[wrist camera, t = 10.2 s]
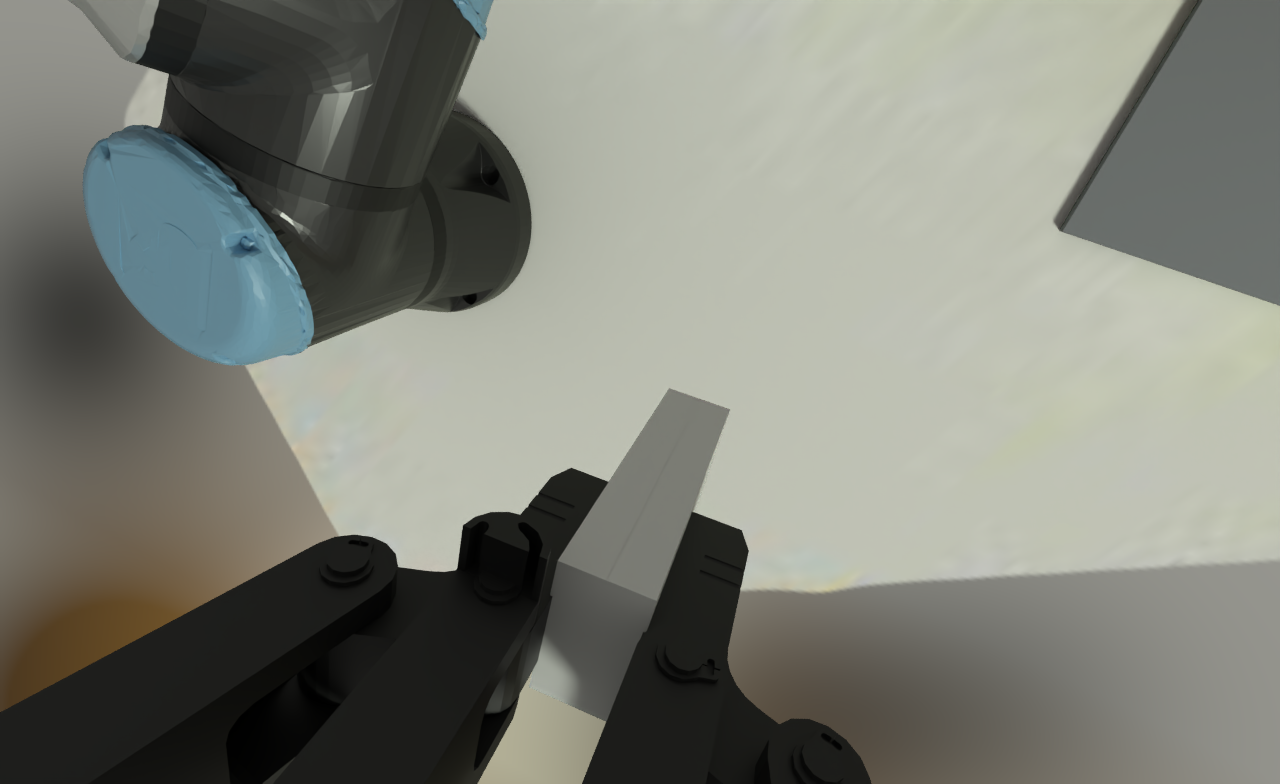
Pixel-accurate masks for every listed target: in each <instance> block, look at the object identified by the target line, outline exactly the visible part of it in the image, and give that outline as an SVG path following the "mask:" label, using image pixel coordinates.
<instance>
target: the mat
mask: <svg viewBox="0 0 1280 784" xmlns="http://www.w3.org/2000/svg"><path fill="white" fill-rule="evenodd" d="M1059 231H1062V232H1064V233H1067V234H1070V235H1073V236H1076V237H1079V238H1082V239H1085V240H1088V241H1091V242H1094V243H1097V244H1100V245H1103V246H1106V247H1109V248H1112V249H1115V250H1118V251H1120V252H1123V253H1126V254H1129V255H1132V256H1135V257H1138V258H1141V259H1144V260H1147V261H1150V262H1153V263H1156V264H1159V265H1162V266H1165V267H1168V268H1171V269H1173V270H1176V271H1179V272H1182V273H1185V274H1188V275H1191V276H1194V277H1197V278H1200V279H1203V280H1206V281H1209V282H1212V283H1215V284H1218V285H1221V286H1224V287H1226V288H1229V289H1232V290H1235V291H1238V292H1241V293H1244V294H1247V295H1250V296H1253V297H1256V298H1259V299H1262V300H1265V301H1268V302H1271V303H1274V304H1277V305H1280V0H1198V2H1197V4H1196V5H1195V7H1194V9H1193V10H1192V12H1191V14H1190V15H1189V17H1188V19H1187V20H1186V22H1185V24H1184V25H1183V27H1182V29H1181V30H1180V32H1179V33H1178V35H1177V37H1176V38H1175V40H1174V42H1173V43H1172V45H1171V47H1170V48H1169V50H1168V52H1167V53H1166V55H1165V57H1164V58H1163V60H1162V62H1161V63H1160V65H1159V67H1158V68H1157V70H1156V72H1155V73H1154V75H1153V76H1152V78H1151V80H1150V81H1149V83H1148V85H1147V86H1146V88H1145V90H1144V91H1143V93H1142V95H1141V96H1140V98H1139V100H1138V101H1137V103H1136V105H1135V106H1134V108H1133V110H1132V111H1131V113H1130V115H1129V116H1128V118H1127V119H1126V121H1125V123H1124V124H1123V126H1122V128H1121V129H1120V131H1119V133H1118V134H1117V136H1116V138H1115V139H1114V141H1113V143H1112V144H1111V146H1110V148H1109V149H1108V151H1107V153H1106V154H1105V156H1104V157H1103V159H1102V161H1101V162H1100V164H1099V166H1098V167H1097V169H1096V171H1095V172H1094V174H1093V176H1092V177H1091V179H1090V181H1089V182H1088V184H1087V186H1086V187H1085V189H1084V191H1083V192H1082V194H1081V196H1080V197H1079V199H1078V200H1077V202H1076V204H1075V205H1074V207H1073V209H1072V210H1071V212H1070V214H1069V215H1068V217H1067V219H1066V220H1065V222H1064V224H1063V225H1062V227H1061V229H1060V230H1059Z"/></svg>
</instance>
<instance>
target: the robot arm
mask: <svg viewBox="0 0 1280 784" xmlns="http://www.w3.org/2000/svg"><path fill="white" fill-rule="evenodd" d="M69 1H70V2H71V3H73V4H74V5H75V6H76V7H78V8H79V9H80V10H81V11H82V12H83V13H84V14H85V15H86V17H87V18H88V19H89V20H90V21H91V23H92V24H93V25H94V26H95V28H96V29H97V30H98V31H99V32H100V33H101V35H102V36H103V37H104V38H105V39H106V41H107V42H108V43H109V44H110V46H111V47H112V48H113V49H114V50H115V52H116V53H117V54H118V55H119V56H120V57H121V58H123V59H125V60H127V61H129V62H132V63H136V64H140V65H143V66H146V67H149V68H152V69H155V70H159V71H162V72H165V73H168V74H169V77H168V83H167V89H166V95H165V101H164V108H163V114H162V119H161V123H160V126H159V127H158V128H153V127H151V126H148V125H132V126H128V127H126V128H124V129H123V130H122V131H118V132H115V133H112V134H111V135H110V136H109V138H106V139H102V140H100V141H98V142H97V143H96V144H95V146H94V147H93V148H92V149H91V151H90V153H89V155H88V157H87V161H86V165H85V168H84V173H83V196H84V204H85V209H86V215H87V218H88V222H89V225H90V228H91V231H92V234H93V237H94V240H95V242H96V244H97V247H98V249H99V251H100V253H101V255H102V257H103V260H104V261H105V263H106V265H107V267H108V269H109V270H110V271H111V273H112V274H113V275H114V277H115V279H116V281H117V283H118V285H119V286H120V288H121V289H122V291H123V292H124V294H125V295H126V296H127V297H128V299H129V300H130V301H131V303H132V304H133V305H134V306H135V308H136V309H137V310H138V311H139V312H140V313H141V314H142V315H143V317H145V319H147V321H148V322H149V323H150V324H151V325H153V326H154V327H155V328H156V329H157V330H158V331H159V332H161V333H162V334H163V335H164V336H166V337H167V338H168V339H169V340H171V341H172V342H174V343H175V344H176V345H178V346H180V347H181V348H183V349H184V350H186V351H188V352H190V353H192V354H194V355H196V356H198V357H201V358H203V359H205V360H208V361H211V362H215V363H219V364H226V365H248V364H254V363H258V362H261V361H264V360H268V359H271V358H274V357H278V356H282V355H295V354H298V353H301V352H302V351H304V350H305V349H306V348H308V347H309V346H312V345H314V344H317V343H319V342H322V341H324V340H327V339H329V338H332V337H334V336H337V335H339V334H342V333H344V332H347V331H349V330H352V329H354V328H357V327H359V326H362V325H365V324H367V323H370V322H372V321H375V320H378V319H380V318H383V317H385V316H388V315H391V314H393V313H396V312H398V311H401V310H403V309H406V308H407V309H417V310H427V311H437V312H456V311H462V310H467V309H470V308H473V307H475V306H478V305H480V304H482V303H485V302H487V301H489V300H491V299H493V298H495V297H496V296H498V295H499V294H501V293H502V292H503V291H504V290H506V289H507V288H508V287H509V286H510V284H511V283H512V282H513V281H514V279H515V278H516V277H517V275H518V274H519V272H520V270H521V268H522V266H523V264H524V261H525V259H526V256H527V253H528V249H529V244H530V238H531V209H530V202H529V198H528V193H527V190H526V186H525V183H524V181H523V178H522V176H521V173H520V171H519V169H518V167H517V165H516V163H515V161H514V160H513V158H512V156H511V155H510V153H509V152H508V151H507V149H506V148H505V147H504V145H503V144H502V143H501V142H500V141H499V140H498V138H497V137H496V136H495V135H494V134H493V133H491V132H490V131H489V130H488V129H487V128H486V127H484V126H483V125H481V124H480V123H479V122H477V121H475V120H474V119H472V118H470V117H468V116H466V115H464V114H461V113H458V112H455V111H452V109H453V107H454V104H455V102H456V99H457V97H458V94H459V92H460V89H461V87H462V84H463V82H464V79H465V77H466V74H467V72H468V69H469V67H470V64H471V61H472V59H473V56H474V54H475V51H476V49H477V46H478V44H479V41H480V39H482V40H484V39H485V36H486V34H487V28H486V25H485V23H486V20H487V17H488V14H489V11H490V8H491V5H492V2H493V0H69ZM729 411H730V409H727V408H724V407H721V406H719V405H716V404H713V403H710V402H707V401H704V400H701V399H698V398H695V397H693V396H690V395H687V394H684V393H681V392H678V391H675V390H672V389H670V388H669V390H668V391H667V393H666V394H665V396H664V397H663V399H662V400H661V402H660V403H659V405H658V407H657V408H656V410H655V411H654V413H653V414H652V416H651V417H650V419H649V420H648V422H647V424H646V425H645V427H644V428H643V430H642V431H641V433H640V434H639V436H638V437H637V439H636V441H635V442H634V444H633V445H632V447H631V448H630V450H629V451H628V453H627V454H626V456H625V458H624V459H623V461H622V462H621V464H620V465H619V467H618V468H617V470H616V471H615V473H614V475H613V476H612V478H611V479H610V481H609V482H607V481H605V480H602V479H599V478H597V477H594V476H592V475H589V474H586V473H584V472H581V471H578V470H576V469H573V468H570V469H568V470H566V471H564V472H561V473H559V474H557V475H555V476H553V477H551V478H550V479H549V481H548V482H547V483H546V484H545V485H544V487H543V488H542V489H541V490H540V492H539V494H538V495H536V496H535V498H534V499H533V500H532V501H531V503H530V504H529V506H528V508H526V509H525V510H524V511H523V512H522V514H521V515H519V514H515V513H510V512H491V513H487V514H484V515H480V516H477V517H474V518H473V519H472V520H470V521H469V522H467V523H466V524H464V525H463V530H462V538H461V545H460V553H459V560H458V568H457V570H456V571H448V572H433V571H423V570H416V569H408V568H400V567H398V565H397V559H396V554H395V553H394V552H393V550H392V549H391V548H390V547H389V546H388V545H387V544H386V543H384V542H382V541H379V540H377V539H375V538H373V537H368V536H360V535H348V536H339V537H334V538H331V539H328V540H326V541H323V542H320V543H318V544H316V545H314V546H312V547H310V548H309V549H306V550H304V551H303V552H301V553H299V554H297V555H295V556H293V557H292V558H290V559H288V560H286V561H284V562H282V563H280V564H278V565H276V566H274V567H273V568H271V569H269V570H267V571H265V572H263V573H261V574H259V575H258V576H256V577H254V578H252V579H250V580H248V581H246V582H244V583H243V584H241V585H239V586H237V587H235V588H233V589H231V590H229V591H227V592H226V593H224V594H222V595H220V596H218V597H216V598H214V599H212V600H211V601H209V602H207V603H205V604H203V605H201V606H199V607H198V608H196V609H194V610H192V611H190V612H188V613H186V614H184V615H183V616H181V617H179V618H177V619H175V620H173V621H171V622H169V623H167V624H165V625H164V626H162V627H160V628H158V629H156V630H154V631H152V632H150V633H149V634H147V635H145V636H143V637H141V638H139V639H137V640H136V641H134V642H132V643H130V644H128V645H126V646H124V647H122V648H120V649H119V650H117V651H115V652H113V653H111V654H109V655H107V656H105V657H104V658H102V659H100V660H98V661H96V662H95V663H92V664H91V665H88V666H87V667H85V668H83V669H81V670H79V671H77V672H75V673H74V674H72V675H70V676H68V677H66V678H64V679H62V680H60V681H58V682H57V683H55V684H53V685H51V686H49V687H47V688H45V689H43V690H42V691H40V692H38V693H36V694H34V695H32V696H30V697H28V698H27V699H25V700H23V701H21V702H19V703H17V704H15V705H13V706H11V707H10V708H8V709H6V710H4V711H2V712H0V784H477V783H478V781H479V780H480V778H481V776H482V774H483V772H484V770H485V769H486V767H487V765H488V763H489V761H490V759H491V757H492V756H493V754H494V752H495V750H496V748H497V747H498V745H499V743H500V741H501V739H502V738H503V736H504V734H505V732H506V730H507V728H508V727H509V725H510V723H511V721H512V719H513V717H514V714H515V710H516V707H517V704H518V698H519V694H520V692H521V690H522V688H523V687H524V685H525V683H526V681H527V680H528V678H529V676H530V674H531V672H532V671H533V672H532V676H531V681H530V685H529V687H530V688H532V689H534V690H536V691H539V692H541V693H543V694H545V695H548V696H550V697H552V698H554V699H557V700H559V701H561V702H564V703H566V704H568V705H570V706H573V707H575V708H577V709H579V710H582V711H584V712H586V713H588V714H590V715H593V716H595V717H597V718H600V719H602V720H604V721H606V724H605V727H604V729H603V732H602V734H601V737H600V739H599V742H598V745H597V747H596V749H595V752H594V755H593V757H592V760H591V762H590V765H589V767H588V770H587V772H586V775H585V777H584V780H583V783H582V784H871V780H870V778H869V775H868V773H867V771H866V768H865V766H864V764H863V762H862V760H861V758H860V756H859V755H858V754H857V753H856V752H855V750H854V749H853V748H852V747H851V745H850V744H849V743H848V742H847V740H846V739H844V738H843V737H841V736H840V735H838V733H836V732H835V731H834V730H832V729H831V728H829V727H828V726H826V725H823V724H820V723H818V722H815V721H813V720H810V719H790V720H788V721H786V722H784V723H782V724H778V723H777V722H775V721H774V720H773V719H771V718H770V717H769V716H767V715H766V714H765V713H763V712H762V711H761V710H760V709H758V708H757V707H756V706H755V705H754V704H753V703H752V702H751V701H749V700H748V699H747V698H746V697H745V696H744V694H743V693H742V692H741V690H740V689H739V688H738V686H737V685H736V683H735V681H734V679H733V677H732V675H731V673H730V670H729V665H728V661H727V656H728V646H729V641H730V636H731V632H732V627H733V622H734V618H735V613H736V608H737V604H738V599H739V594H740V588H741V585H742V580H743V575H744V574H743V573H744V570H745V566H746V561H747V556H748V552H749V550H748V547H747V545H746V542H745V539H744V536H743V533H742V530H739V529H737V528H734V527H732V526H729V525H726V524H724V523H721V522H718V521H716V520H713V519H710V518H708V517H705V516H702V515H700V514H697V513H695V510H696V507H697V505H698V502H699V499H700V496H701V493H702V490H703V487H704V484H705V481H706V479H707V476H708V473H709V470H710V467H711V464H712V461H713V458H714V455H715V452H716V449H717V446H718V443H719V441H720V438H721V435H722V432H723V429H724V426H725V423H726V420H727V417H728V414H729Z"/></svg>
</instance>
